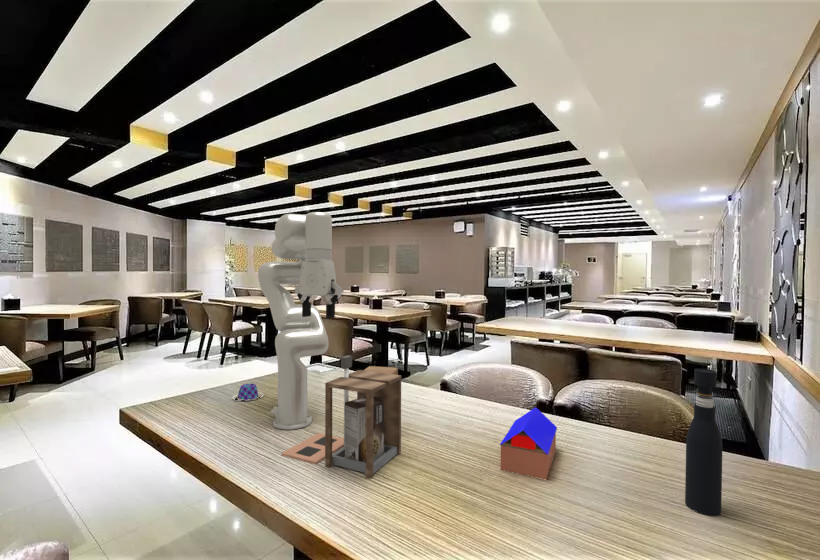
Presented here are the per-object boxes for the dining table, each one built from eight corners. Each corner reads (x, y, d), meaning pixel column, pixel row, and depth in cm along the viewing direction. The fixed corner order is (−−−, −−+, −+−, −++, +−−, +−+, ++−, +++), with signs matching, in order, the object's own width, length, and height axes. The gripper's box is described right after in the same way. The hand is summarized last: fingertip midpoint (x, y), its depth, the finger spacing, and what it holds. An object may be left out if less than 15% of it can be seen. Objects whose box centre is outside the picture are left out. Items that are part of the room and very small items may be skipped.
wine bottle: (678, 499, 92) (680, 367, 91) (704, 498, 92) (707, 366, 92) (700, 516, 85) (703, 374, 85) (729, 515, 86) (731, 373, 85)
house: (556, 450, 118) (557, 410, 117) (547, 481, 100) (548, 434, 99) (515, 442, 123) (515, 404, 123) (498, 471, 105) (499, 426, 105)
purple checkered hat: (257, 402, 159) (257, 389, 159) (226, 402, 159) (226, 389, 159) (268, 393, 171) (268, 381, 171) (239, 393, 171) (239, 381, 171)
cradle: (329, 463, 107) (329, 360, 107) (356, 444, 119) (357, 352, 119) (372, 474, 101) (373, 366, 101) (396, 454, 113) (397, 356, 113)
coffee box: (370, 451, 116) (370, 394, 115) (384, 458, 111) (385, 399, 111) (343, 461, 109) (343, 401, 109) (358, 469, 105) (358, 407, 104)
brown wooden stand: (325, 466, 106) (325, 382, 106) (358, 443, 120) (359, 369, 120) (371, 478, 100) (371, 389, 100) (400, 453, 114) (401, 375, 114)
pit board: (281, 455, 113) (281, 452, 113) (318, 434, 127) (318, 432, 127) (315, 464, 107) (315, 461, 107) (350, 442, 122) (350, 439, 122)
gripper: (285, 256, 117) (285, 317, 117) (335, 255, 109) (335, 320, 110) (303, 257, 124) (303, 314, 124) (351, 256, 116) (351, 317, 116)
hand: (318, 316), depth 117 cm, fingers open, 7 cm apart
